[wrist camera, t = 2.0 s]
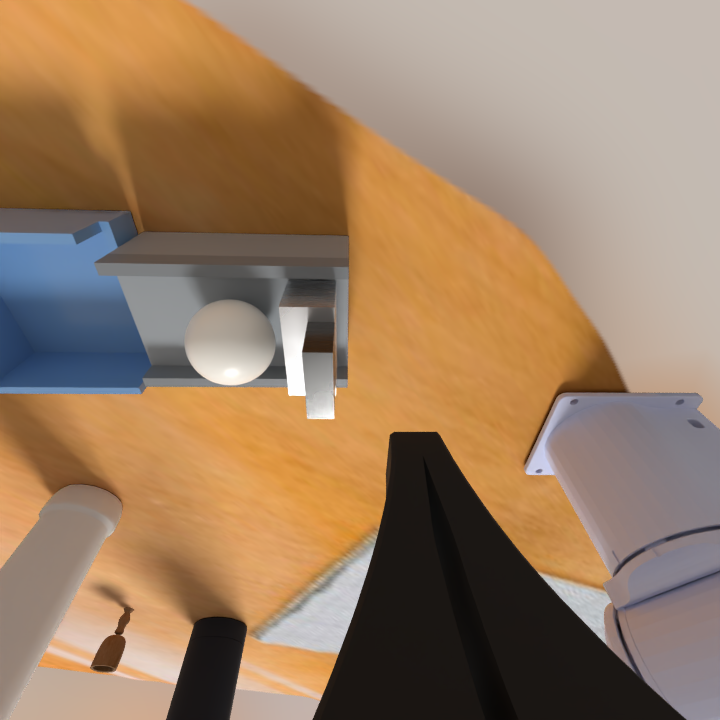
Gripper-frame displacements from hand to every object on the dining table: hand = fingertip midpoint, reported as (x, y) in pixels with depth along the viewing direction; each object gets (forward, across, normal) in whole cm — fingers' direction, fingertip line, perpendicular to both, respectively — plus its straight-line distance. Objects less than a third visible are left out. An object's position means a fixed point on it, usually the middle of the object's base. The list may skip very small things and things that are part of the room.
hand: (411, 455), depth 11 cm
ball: (+6, +7, 0) cm, 9 cm away
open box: (+10, +16, 0) cm, 19 cm away
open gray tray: (+10, +7, 0) cm, 13 cm away
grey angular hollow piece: (+7, +3, 0) cm, 8 cm away
